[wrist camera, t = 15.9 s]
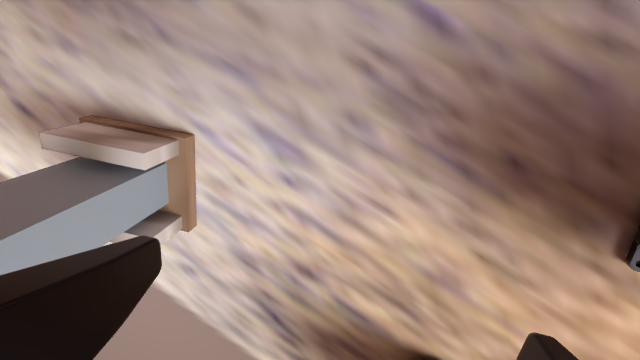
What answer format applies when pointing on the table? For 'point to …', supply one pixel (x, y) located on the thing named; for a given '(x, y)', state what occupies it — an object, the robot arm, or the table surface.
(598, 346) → the table surface
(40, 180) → the gray rectangular block
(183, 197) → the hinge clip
